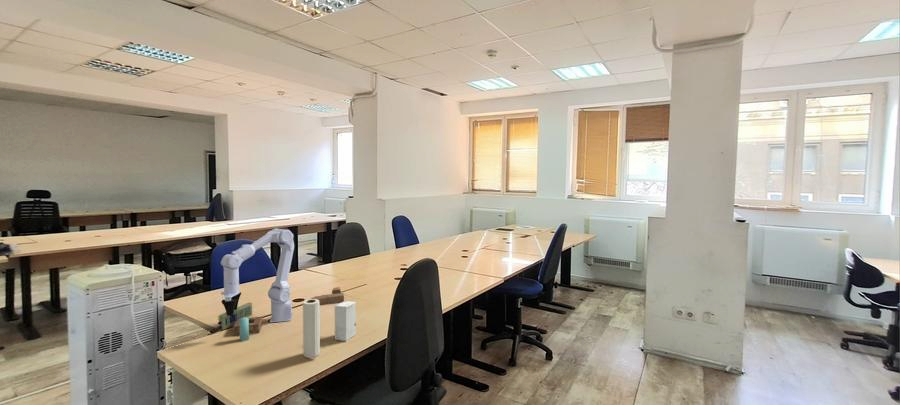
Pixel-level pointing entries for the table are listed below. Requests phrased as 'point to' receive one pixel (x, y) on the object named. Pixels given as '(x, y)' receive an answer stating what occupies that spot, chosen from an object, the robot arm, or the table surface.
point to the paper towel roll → (311, 328)
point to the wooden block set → (331, 297)
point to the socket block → (254, 325)
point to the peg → (244, 329)
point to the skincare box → (345, 320)
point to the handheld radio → (231, 320)
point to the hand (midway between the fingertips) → (232, 312)
